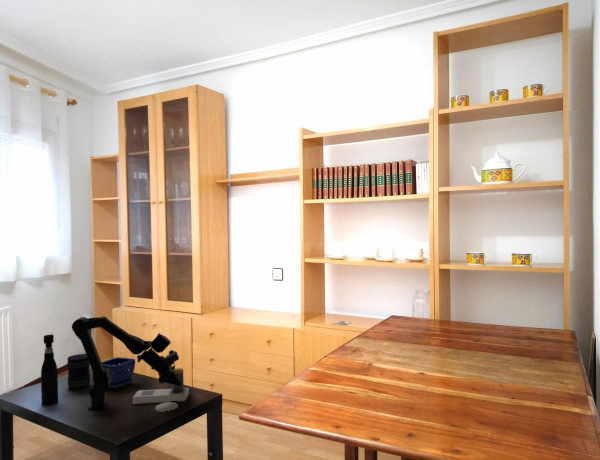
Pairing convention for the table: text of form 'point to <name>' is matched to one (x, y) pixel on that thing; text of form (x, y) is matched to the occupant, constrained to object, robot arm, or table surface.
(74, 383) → the storage jar
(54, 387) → the wine bottle
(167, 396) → the power strip
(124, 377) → the flower pot
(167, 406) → the rubber mat
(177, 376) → the plug
